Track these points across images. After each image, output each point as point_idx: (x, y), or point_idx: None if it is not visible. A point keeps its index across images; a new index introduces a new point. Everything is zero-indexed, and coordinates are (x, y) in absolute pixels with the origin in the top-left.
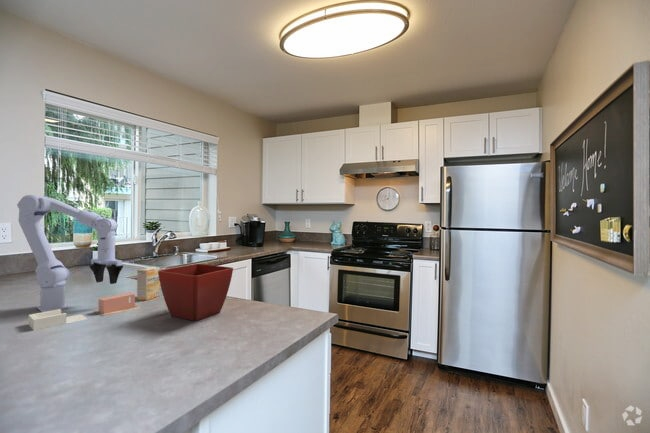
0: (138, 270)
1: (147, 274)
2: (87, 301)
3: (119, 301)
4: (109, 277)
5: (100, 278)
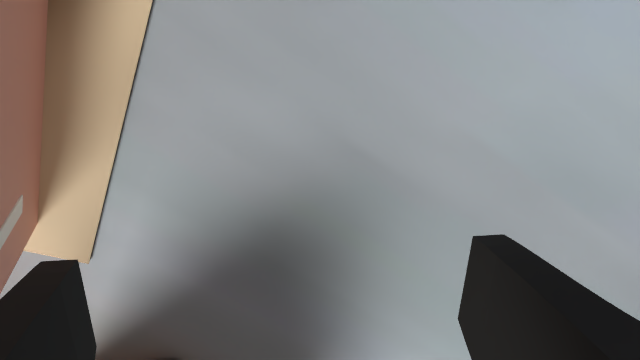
0: None
1: None
2: (632, 150)
3: None
4: (6, 355)
5: (492, 335)
